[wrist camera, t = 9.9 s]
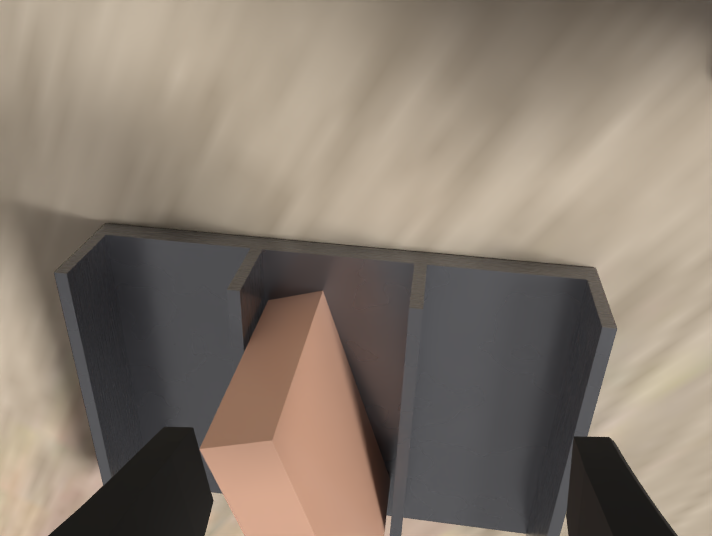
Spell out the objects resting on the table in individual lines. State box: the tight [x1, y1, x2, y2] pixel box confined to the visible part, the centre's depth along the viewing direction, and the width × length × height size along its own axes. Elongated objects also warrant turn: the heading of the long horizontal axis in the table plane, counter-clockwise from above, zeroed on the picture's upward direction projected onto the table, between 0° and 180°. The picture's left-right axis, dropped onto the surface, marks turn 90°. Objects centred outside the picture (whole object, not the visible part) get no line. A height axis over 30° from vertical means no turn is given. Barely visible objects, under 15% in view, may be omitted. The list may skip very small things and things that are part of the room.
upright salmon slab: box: [200, 291, 390, 536], centre depth 22 cm, size 2×9×7 cm, turn 16°
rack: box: [54, 223, 617, 536], centre depth 24 cm, size 17×12×3 cm
